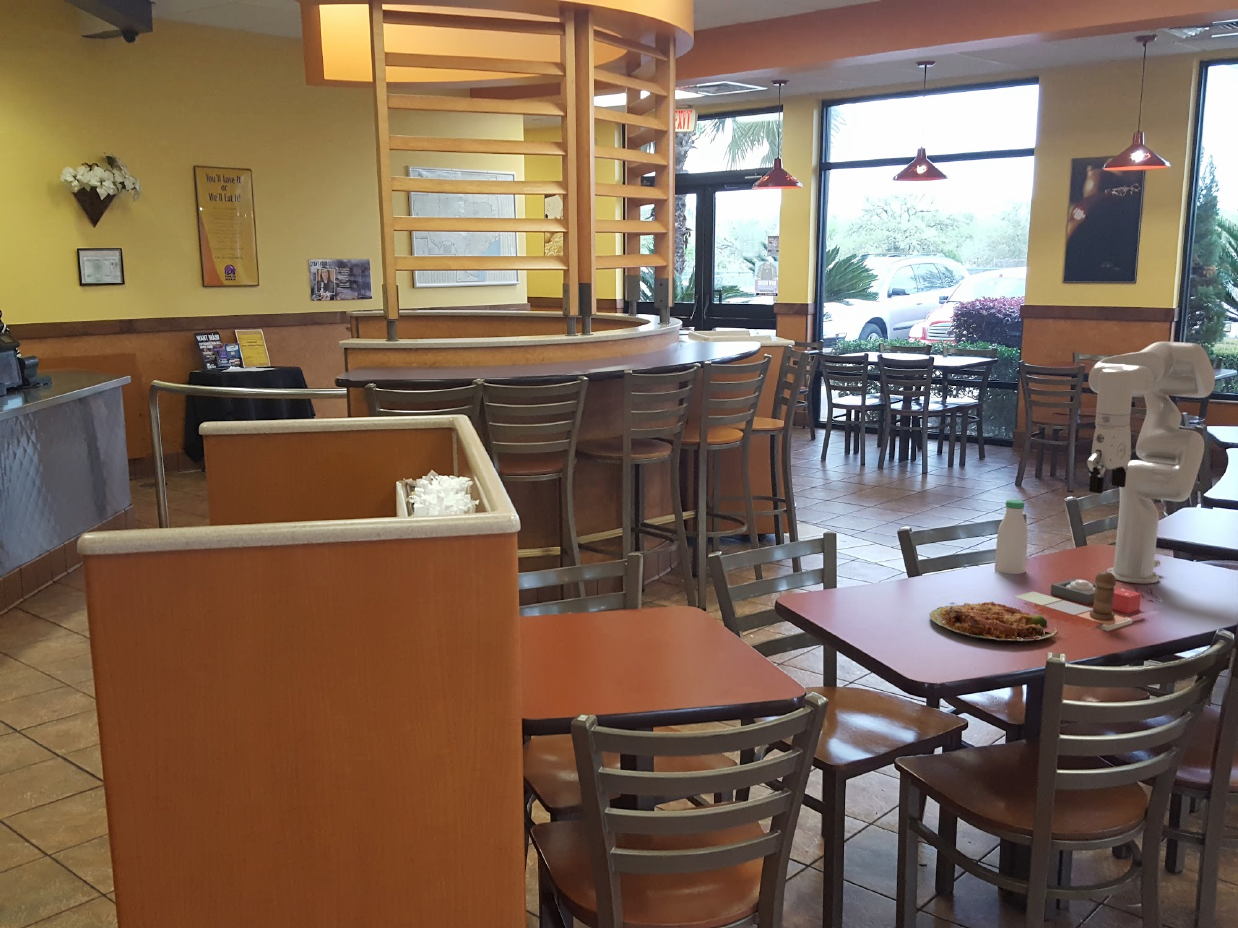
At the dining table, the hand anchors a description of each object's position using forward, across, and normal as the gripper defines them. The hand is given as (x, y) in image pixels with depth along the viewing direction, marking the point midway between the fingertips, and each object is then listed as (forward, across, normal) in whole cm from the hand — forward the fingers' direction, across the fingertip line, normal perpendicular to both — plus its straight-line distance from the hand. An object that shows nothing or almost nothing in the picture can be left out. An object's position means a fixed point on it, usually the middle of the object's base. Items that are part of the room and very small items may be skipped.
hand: (1107, 489), depth 258 cm
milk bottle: (+28, 0, +26) cm, 38 cm away
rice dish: (+27, -41, +2) cm, 49 cm away
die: (+28, -6, -10) cm, 30 cm away
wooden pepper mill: (+26, -16, -10) cm, 32 cm away
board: (+27, -16, -2) cm, 32 cm away
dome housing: (+28, -5, +2) cm, 28 cm away
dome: (+26, -5, +2) cm, 27 cm away
